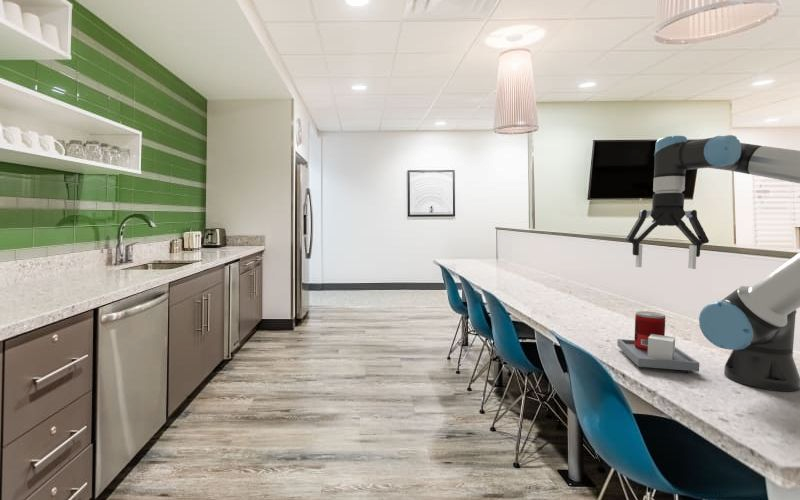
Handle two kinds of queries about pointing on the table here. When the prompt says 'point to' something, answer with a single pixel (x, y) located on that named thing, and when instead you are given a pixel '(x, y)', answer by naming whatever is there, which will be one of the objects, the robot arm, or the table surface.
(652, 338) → the light grey cube
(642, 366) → the grey tray
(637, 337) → the canned food
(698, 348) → the table surface
